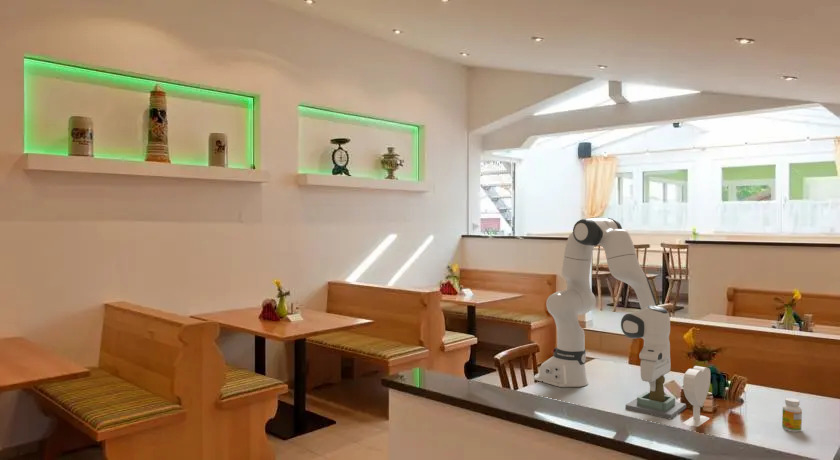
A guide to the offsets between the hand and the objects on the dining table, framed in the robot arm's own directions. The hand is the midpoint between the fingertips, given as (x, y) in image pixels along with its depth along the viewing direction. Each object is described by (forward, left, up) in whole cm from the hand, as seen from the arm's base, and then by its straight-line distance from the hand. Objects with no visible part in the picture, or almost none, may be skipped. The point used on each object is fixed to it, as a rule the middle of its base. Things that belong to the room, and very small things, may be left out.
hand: (656, 389), depth 217 cm
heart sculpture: (+15, -4, -7) cm, 17 cm away
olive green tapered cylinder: (0, 0, -6) cm, 6 cm away
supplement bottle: (+41, +9, -7) cm, 43 cm away
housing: (0, 0, -7) cm, 7 cm away
